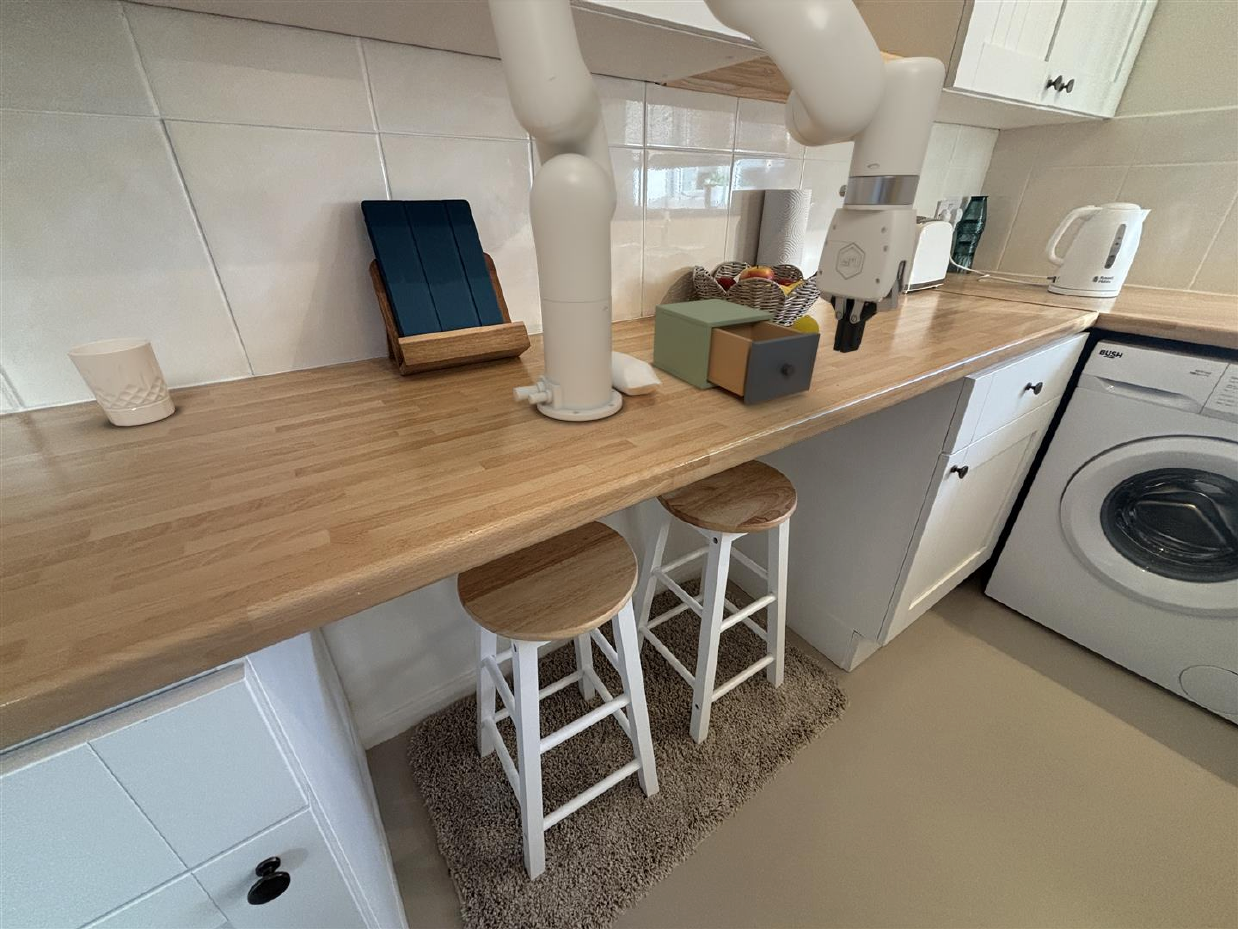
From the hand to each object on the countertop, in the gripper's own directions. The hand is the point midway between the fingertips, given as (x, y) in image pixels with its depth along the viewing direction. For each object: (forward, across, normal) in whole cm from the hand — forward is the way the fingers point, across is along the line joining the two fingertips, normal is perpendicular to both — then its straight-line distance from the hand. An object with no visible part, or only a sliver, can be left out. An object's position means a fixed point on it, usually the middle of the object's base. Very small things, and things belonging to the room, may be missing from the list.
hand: (845, 350), depth 66 cm
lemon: (+10, -22, +18) cm, 30 cm away
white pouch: (+9, -20, -21) cm, 31 cm away
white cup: (+8, -45, -85) cm, 97 cm away
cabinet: (+9, -24, -3) cm, 26 cm away
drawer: (+8, -13, -3) cm, 16 cm away
